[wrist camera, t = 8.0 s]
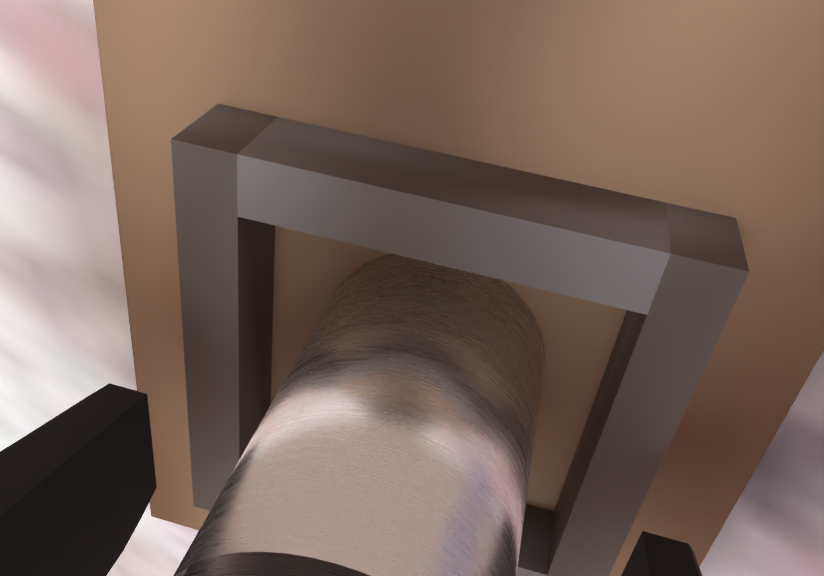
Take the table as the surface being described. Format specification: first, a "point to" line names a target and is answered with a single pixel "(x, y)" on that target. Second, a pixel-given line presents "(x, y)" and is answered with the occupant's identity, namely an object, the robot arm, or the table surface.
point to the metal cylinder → (390, 437)
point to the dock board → (484, 225)
